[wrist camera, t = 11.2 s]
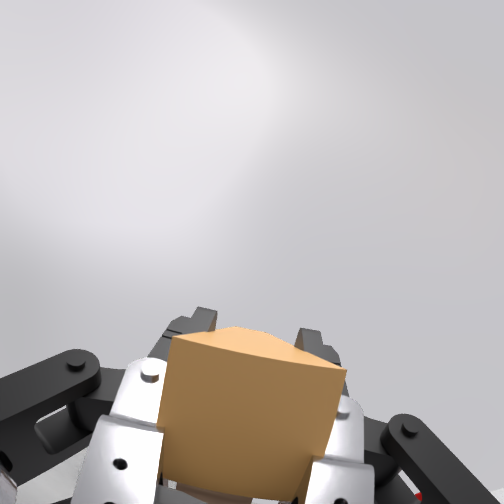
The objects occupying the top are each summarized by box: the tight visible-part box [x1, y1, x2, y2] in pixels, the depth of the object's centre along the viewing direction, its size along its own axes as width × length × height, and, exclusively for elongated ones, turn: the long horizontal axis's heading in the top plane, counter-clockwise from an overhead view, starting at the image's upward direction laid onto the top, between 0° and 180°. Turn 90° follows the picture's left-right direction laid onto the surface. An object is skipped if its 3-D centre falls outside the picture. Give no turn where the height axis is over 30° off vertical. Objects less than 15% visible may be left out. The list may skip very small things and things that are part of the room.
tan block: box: [156, 326, 347, 502], centre depth 17 cm, size 26×3×3 cm, turn 0°
